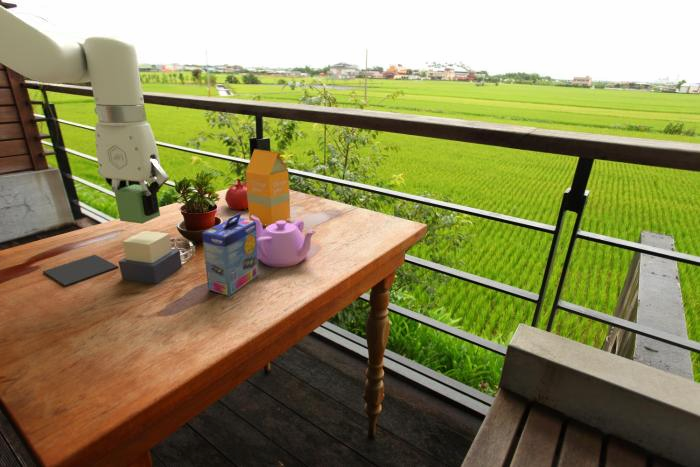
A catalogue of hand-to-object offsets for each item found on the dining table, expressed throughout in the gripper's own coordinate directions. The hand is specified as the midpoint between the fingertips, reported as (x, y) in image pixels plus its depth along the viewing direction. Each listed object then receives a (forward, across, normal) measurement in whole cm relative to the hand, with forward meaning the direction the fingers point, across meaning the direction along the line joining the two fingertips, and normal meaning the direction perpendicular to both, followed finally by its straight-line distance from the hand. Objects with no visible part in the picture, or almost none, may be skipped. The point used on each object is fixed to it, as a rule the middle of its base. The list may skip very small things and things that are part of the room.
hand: (139, 211), depth 75 cm
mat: (+14, -14, -3) cm, 20 cm away
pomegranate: (+14, -3, +45) cm, 47 cm away
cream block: (+10, 0, 0) cm, 10 cm away
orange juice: (+13, +10, +36) cm, 40 cm away
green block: (+1, 0, 0) cm, 1 cm away
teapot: (+13, +24, +14) cm, 31 cm away
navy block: (+14, 0, 0) cm, 14 cm away
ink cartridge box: (+13, +19, +1) cm, 23 cm away
